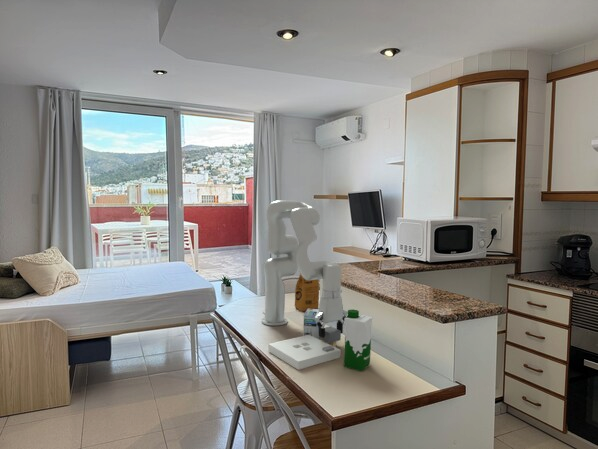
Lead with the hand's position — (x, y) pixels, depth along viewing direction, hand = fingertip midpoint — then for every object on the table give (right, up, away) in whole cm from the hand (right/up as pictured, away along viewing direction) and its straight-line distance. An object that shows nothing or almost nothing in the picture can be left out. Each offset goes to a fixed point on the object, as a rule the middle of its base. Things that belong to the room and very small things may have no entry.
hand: (330, 334), depth 163 cm
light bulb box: (-7, -4, +12) cm, 14 cm away
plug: (0, -5, +1) cm, 5 cm away
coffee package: (-9, -1, +55) cm, 56 cm away
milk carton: (+8, -6, -19) cm, 22 cm away
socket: (-11, -5, -10) cm, 16 cm away
